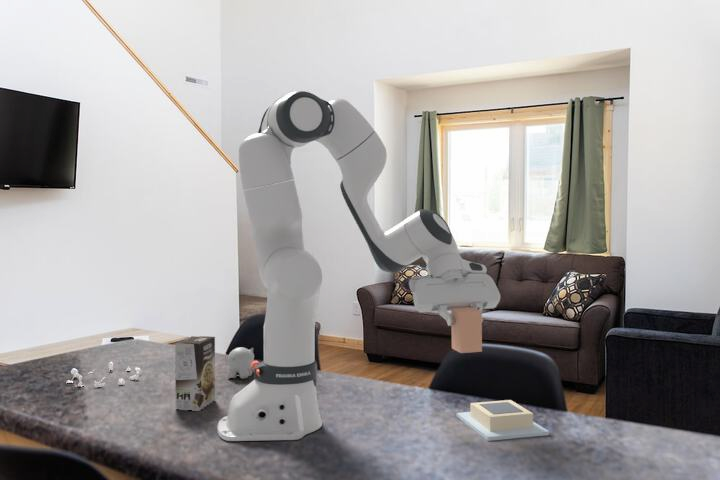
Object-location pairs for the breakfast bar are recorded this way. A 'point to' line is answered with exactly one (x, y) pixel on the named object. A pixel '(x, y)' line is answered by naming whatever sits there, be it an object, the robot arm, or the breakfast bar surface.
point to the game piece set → (74, 371)
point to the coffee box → (195, 372)
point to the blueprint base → (504, 432)
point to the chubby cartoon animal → (240, 362)
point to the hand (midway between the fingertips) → (465, 323)
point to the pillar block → (467, 330)
